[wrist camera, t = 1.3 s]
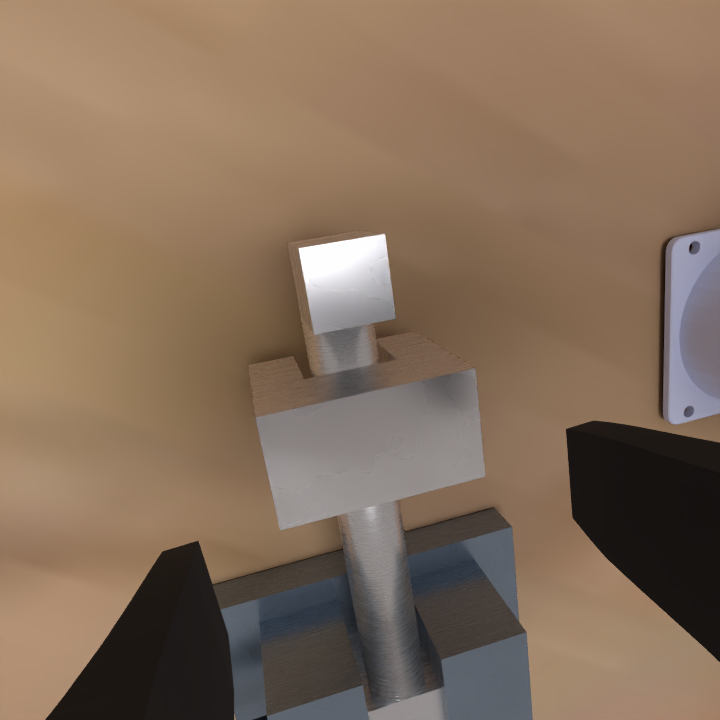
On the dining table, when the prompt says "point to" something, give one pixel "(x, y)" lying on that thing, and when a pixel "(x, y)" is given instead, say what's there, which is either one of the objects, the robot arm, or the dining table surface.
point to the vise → (376, 567)
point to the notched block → (367, 429)
